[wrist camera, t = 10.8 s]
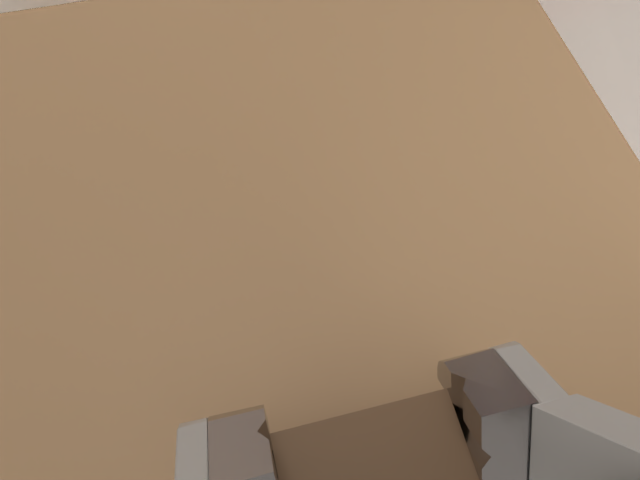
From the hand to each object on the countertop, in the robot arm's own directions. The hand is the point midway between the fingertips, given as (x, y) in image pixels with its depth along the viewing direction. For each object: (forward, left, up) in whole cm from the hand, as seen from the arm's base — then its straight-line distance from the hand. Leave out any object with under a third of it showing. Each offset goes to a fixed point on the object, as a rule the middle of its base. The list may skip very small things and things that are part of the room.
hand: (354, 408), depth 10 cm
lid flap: (0, +1, -8) cm, 8 cm away
